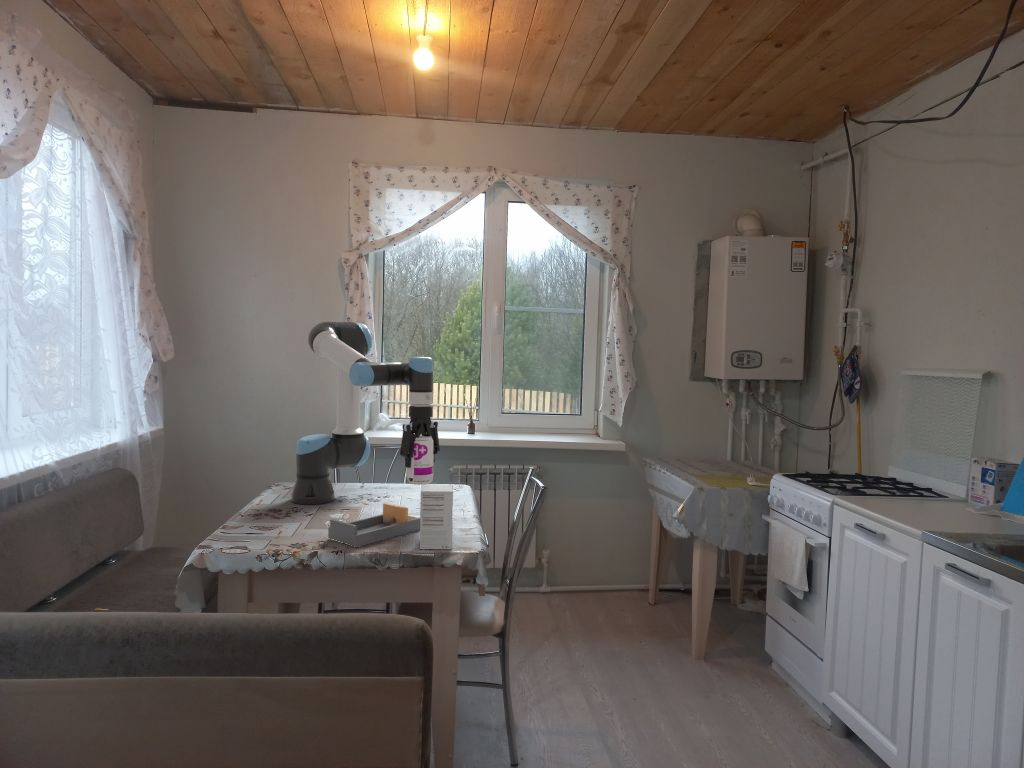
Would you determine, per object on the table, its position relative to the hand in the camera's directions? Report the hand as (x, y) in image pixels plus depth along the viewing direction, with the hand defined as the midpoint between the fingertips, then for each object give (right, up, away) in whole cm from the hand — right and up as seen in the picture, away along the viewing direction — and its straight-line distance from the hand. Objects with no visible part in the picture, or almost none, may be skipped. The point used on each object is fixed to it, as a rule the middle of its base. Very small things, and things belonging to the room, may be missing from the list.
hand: (420, 475), depth 219 cm
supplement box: (+8, -17, -23) cm, 30 cm away
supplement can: (0, -2, 0) cm, 2 cm away
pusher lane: (-11, -16, -13) cm, 24 cm away
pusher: (-8, -14, -8) cm, 18 cm away
